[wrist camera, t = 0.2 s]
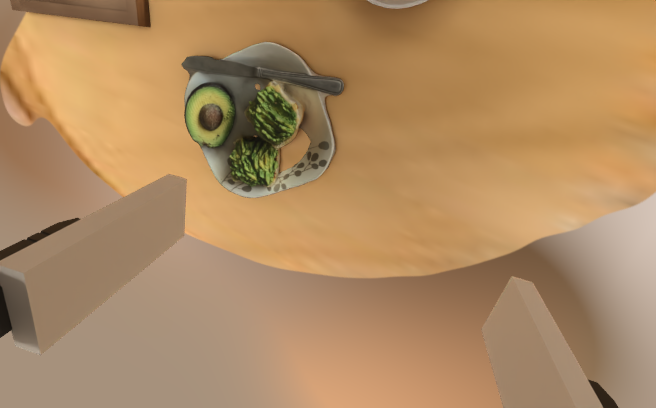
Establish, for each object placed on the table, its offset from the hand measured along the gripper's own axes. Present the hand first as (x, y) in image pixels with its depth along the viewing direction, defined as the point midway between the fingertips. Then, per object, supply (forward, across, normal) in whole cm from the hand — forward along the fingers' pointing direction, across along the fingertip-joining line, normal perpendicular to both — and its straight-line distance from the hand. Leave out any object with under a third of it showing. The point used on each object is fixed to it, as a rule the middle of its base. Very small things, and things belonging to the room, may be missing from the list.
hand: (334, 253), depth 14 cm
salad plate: (+28, -14, -4) cm, 31 cm away
